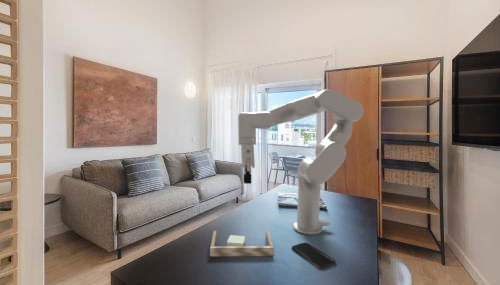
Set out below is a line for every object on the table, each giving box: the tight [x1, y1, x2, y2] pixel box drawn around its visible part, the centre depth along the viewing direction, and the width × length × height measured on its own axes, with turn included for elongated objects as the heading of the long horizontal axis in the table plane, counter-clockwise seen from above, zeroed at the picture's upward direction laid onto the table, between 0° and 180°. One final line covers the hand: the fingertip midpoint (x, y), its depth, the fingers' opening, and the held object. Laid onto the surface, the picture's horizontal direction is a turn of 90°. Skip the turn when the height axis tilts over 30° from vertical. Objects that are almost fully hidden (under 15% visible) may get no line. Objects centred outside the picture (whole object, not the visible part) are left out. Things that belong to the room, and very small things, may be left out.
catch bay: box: [209, 230, 274, 257], centre depth 88 cm, size 22×14×3 cm, turn 93°
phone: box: [291, 242, 337, 270], centre depth 83 cm, size 8×1×15 cm
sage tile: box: [226, 234, 246, 246], centre depth 89 cm, size 6×6×2 cm
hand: (247, 183), depth 102 cm, fingers closed
